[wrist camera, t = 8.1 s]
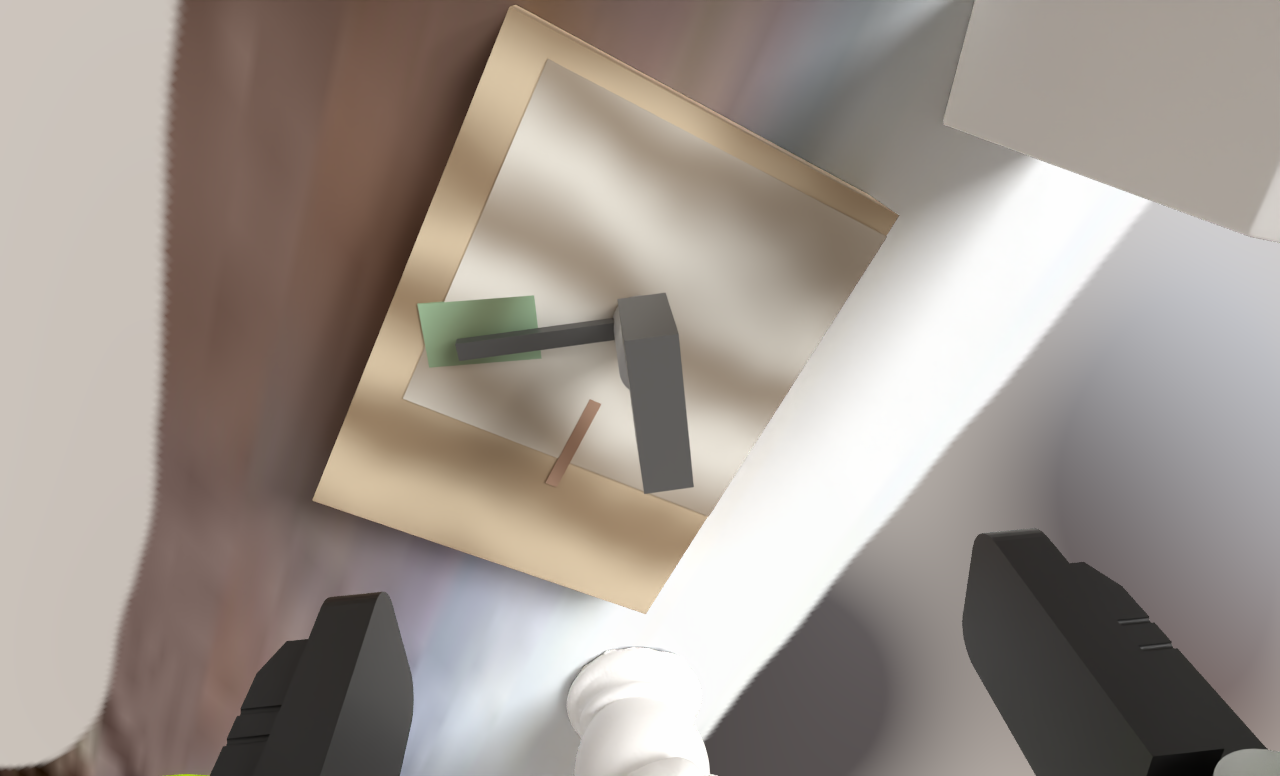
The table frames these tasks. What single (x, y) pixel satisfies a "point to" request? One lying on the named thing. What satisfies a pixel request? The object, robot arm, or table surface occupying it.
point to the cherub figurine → (637, 716)
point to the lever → (625, 377)
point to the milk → (1135, 98)
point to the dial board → (590, 317)
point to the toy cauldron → (187, 775)
